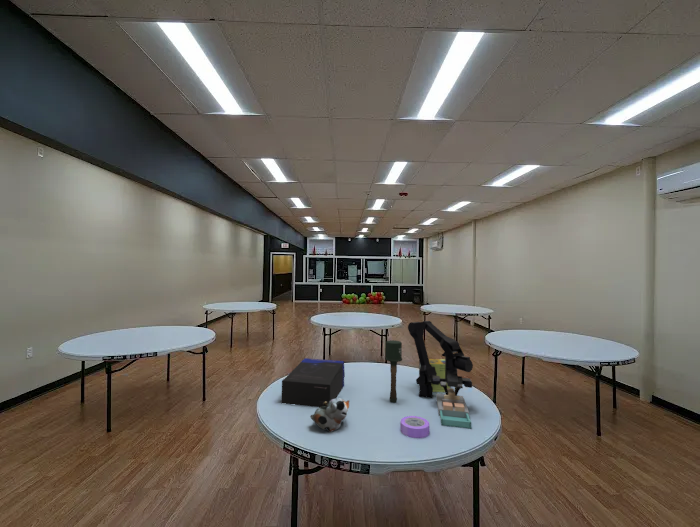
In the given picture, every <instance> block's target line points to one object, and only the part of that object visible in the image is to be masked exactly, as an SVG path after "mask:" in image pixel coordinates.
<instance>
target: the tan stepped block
mask: <svg viewBox="0 0 700 527" xmlns="http://www.w3.org/2000/svg"><path fill="white" fill-rule="evenodd" d="M447 391H448V395H444V399H442V406H443V402H449V403H452V405H453V407H454V403H460V404H463V405H464V401H462V400H460V396H461V395H458V396H455V392H454V391H455V388H454V387H450V388H447Z"/></svg>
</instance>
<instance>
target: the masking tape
mask: <svg viewBox="0 0 700 527" xmlns="http://www.w3.org/2000/svg"><path fill="white" fill-rule="evenodd" d="M399 424H400V432H401V434H402V435H404V436H406V437H407V438H408V437H409V438H411V439H412V438H413V439H424V438H427V437H428V436H429V435H430V422H429V420H427V418H424V417H421V416H417V415H409V416H408V415H407V416H404V417H402V418H400V422H399Z"/></svg>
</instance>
